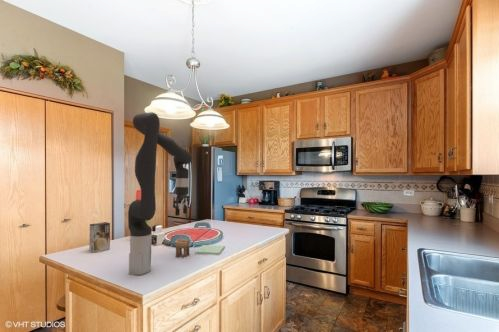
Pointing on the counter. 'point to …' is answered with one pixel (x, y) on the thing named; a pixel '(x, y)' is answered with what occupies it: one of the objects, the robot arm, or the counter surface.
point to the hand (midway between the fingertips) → (181, 214)
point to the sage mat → (210, 249)
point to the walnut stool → (180, 245)
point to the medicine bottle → (157, 235)
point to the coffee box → (99, 237)
